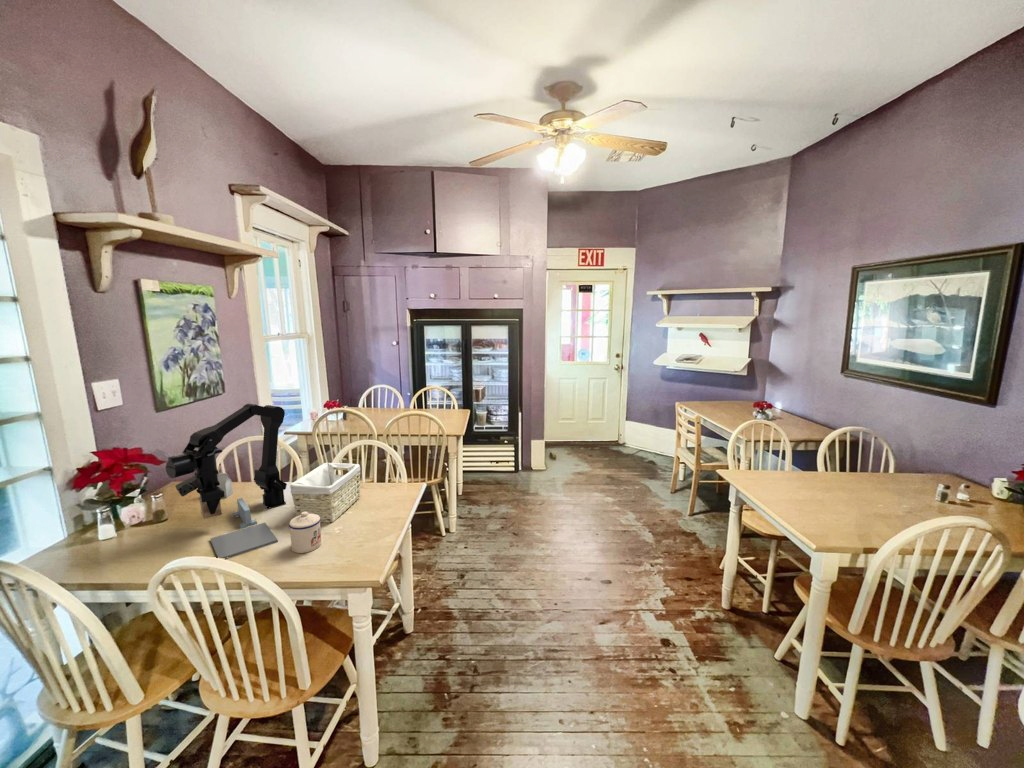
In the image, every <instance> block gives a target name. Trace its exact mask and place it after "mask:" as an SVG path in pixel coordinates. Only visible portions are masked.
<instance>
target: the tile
mask: <svg viewBox="0 0 1024 768" xmlns="http://www.w3.org/2000/svg"><path fill="white" fill-rule="evenodd" d="M278 541H279V539H278V538H277V537H276V535H275V534H274V532H273V531H272V530H271V529H270V527H269V526H268V525H267V523H266V522H261V523H257V524H255V525H251V526H248V527H244V528H240V529H237V530H233V531H230V532H227V533H224V534H220V535H217V536H214V537H210V543H211V546H212V548H213V550H214V552H215V554H216V557H217V558H218V557H219V558H225V559H224V560H228V558H227V557H230V558H233V557H236V556H240V555H243V554H245V553H249V552H251V551H254V550H258V549H260V548H263V547H267V546H270V545H272V544H277V543H278Z"/></svg>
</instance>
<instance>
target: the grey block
mask: <svg viewBox="0 0 1024 768" xmlns="http://www.w3.org/2000/svg"><path fill="white" fill-rule="evenodd" d="M218 481H219V483H220V485H218V487H220V488H222V489H223V490H224V495H225V497H223V498H222V499H228V498H230V497H232V496H233V495H232V494H234V492H233V482H232V479H231V478H230V476H229V473H227V472H218ZM229 496H230V497H229ZM227 497H228V498H227Z"/></svg>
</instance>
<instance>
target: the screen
mask: <svg viewBox="0 0 1024 768" xmlns="http://www.w3.org/2000/svg"><path fill="white" fill-rule="evenodd" d="M237 509H238V511H236V512H233V513H232V516H233V517H234V518H238V517H239V518H240V519H241V520H242V522H241V523H239V525H238V526H239V528H240V529H244V528H248V527H251V526H254V525H258V521H257V520H256V519H252V516H251V509H250V507H249V506H248V505H247V503H246V502H245V500H244V499H243V497H241V498H237Z"/></svg>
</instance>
